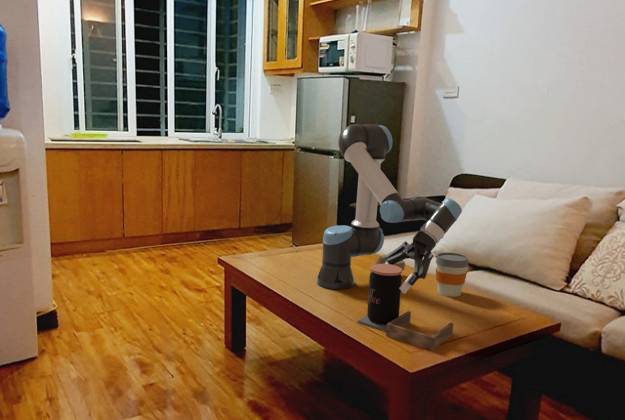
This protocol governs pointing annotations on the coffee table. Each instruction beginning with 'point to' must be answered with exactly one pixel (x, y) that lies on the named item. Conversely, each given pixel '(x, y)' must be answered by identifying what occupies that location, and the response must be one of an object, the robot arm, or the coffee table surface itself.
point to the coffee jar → (384, 293)
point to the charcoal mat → (372, 323)
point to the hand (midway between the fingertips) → (389, 284)
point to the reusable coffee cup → (451, 273)
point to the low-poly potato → (399, 264)
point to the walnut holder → (416, 333)
